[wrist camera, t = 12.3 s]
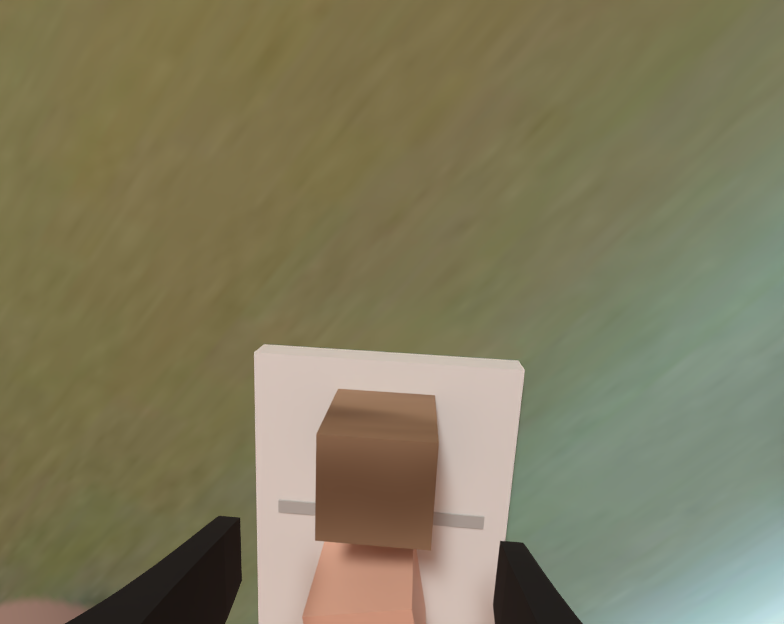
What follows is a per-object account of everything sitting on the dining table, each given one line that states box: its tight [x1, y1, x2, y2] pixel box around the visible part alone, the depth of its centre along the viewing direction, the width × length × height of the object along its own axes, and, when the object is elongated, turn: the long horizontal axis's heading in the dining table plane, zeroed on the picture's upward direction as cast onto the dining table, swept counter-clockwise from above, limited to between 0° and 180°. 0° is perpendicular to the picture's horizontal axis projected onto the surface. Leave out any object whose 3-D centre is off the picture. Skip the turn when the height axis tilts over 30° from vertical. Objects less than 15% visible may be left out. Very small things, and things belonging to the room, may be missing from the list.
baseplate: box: [254, 344, 525, 624], centre depth 20 cm, size 11×14×1 cm
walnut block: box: [315, 389, 439, 551], centre depth 17 cm, size 4×4×4 cm
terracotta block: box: [302, 542, 426, 624], centre depth 18 cm, size 4×4×4 cm
